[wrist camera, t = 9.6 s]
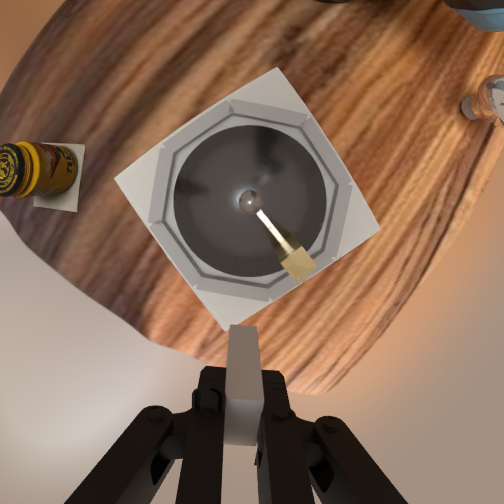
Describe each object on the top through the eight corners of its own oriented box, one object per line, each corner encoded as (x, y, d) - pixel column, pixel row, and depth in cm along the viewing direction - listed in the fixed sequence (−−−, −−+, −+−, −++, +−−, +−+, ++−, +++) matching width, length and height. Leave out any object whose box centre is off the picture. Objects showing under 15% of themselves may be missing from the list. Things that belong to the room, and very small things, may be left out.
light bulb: (439, 106, 34) (496, 90, 22) (458, 77, 33) (512, 58, 21) (469, 143, 35) (528, 139, 23) (486, 113, 34) (542, 103, 22)
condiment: (85, 144, 34) (30, 135, 22) (77, 212, 35) (21, 226, 24) (42, 142, 33) (-17, 136, 21) (34, 205, 35) (-24, 218, 23)
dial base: (275, 72, 33) (278, 62, 29) (374, 226, 37) (386, 231, 34) (120, 178, 35) (108, 178, 31) (225, 324, 39) (224, 337, 36)
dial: (146, 192, 33) (123, 196, 26) (261, 98, 31) (266, 78, 24) (239, 301, 36) (239, 329, 29) (351, 213, 34) (376, 221, 27)
